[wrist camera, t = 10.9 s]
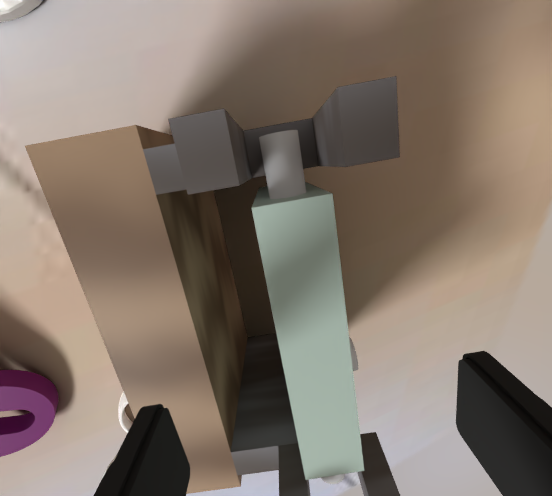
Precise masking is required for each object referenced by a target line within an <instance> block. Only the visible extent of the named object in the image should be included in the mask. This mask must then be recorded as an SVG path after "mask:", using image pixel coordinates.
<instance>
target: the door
mask: <svg viewBox="0 0 552 496" xmlns="http://www.w3.org/2000/svg"><path fill="white" fill-rule="evenodd" d="M259 141H260V146H261V152H262V158H263V163H264V169H265V174H266V180H267V186H266V187H260V188H259V189H258V192H257V195H256V197H255V200H254V203H253V205H252V213H253V218H254V223H255V228H256V233H257V238H258V243H259V248H260V253H261V258H262V263H263V269H264V274H265V279H266V284H267V289H268V294H269V299H270V304H271V309H272V314H273V319H274V324H275V329H276V334H277V339H278V344H279V349H280V354H281V359H282V364H283V369H284V374H285V379H286V384H287V389H288V394H289V399H290V404H291V409H292V414H293V419H294V424H295V429H296V434H297V439H298V444H299V449H300V454H301V459H302V464H303V469H304V474H305V479H306V480H309V479H315V478H321V479H322V480H323V481H324V482H326V483H328V484H332V485H334V484H338V483H340V482H341V481H342V480H343V479H344V477H345V474H347V473H353V472H359V471H364V464H363V455H362V446H361V438H360V429H359V420H358V411H357V403H356V394H355V385H354V377H353V371H355V370H358V361H357V355H356V351H355V348H354V345H353V342H352V340H351V338H350V337H349V333H348V324H347V315H346V307H345V298H344V289H343V281H342V272H341V263H340V254H339V246H338V237H337V228H336V219H335V211H334V202H333V193H330V192H328V191H325V190H323V189H321V188H318V187H316V186H314V185H311V184H309V183H306V182H305V179H304V172H303V165H302V158H301V151H300V143H299V136H298V130H288V131H281V132H276V133H271V134H267V135H264V136H261V137H259Z"/></svg>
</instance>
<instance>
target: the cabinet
mask: <svg viewBox="0 0 552 496" xmlns="http://www.w3.org/2000/svg"><path fill="white" fill-rule="evenodd" d="M168 120H169V124H170V128H171V131H172V135H173V136H172V135H168V134H165V133H161V132H158V131H154V130H151V129H148V128H144V127H141V126H137V125H133V126H128V127H123V128H118V129H112V130H107V131H102V132H96V133H91V134H86V135H80V136H75V137H70V138H64V139H59V140H54V141H48V142H43V143H38V144H32V145H27V146H25V147H26V150H27V152H28V155H29V157H30V160H31V162H32V165H33V167H34V170H35V172H36V175H37V177H38V180H39V182H40V185H41V187H42V190H43V192H44V195H45V197H46V200H47V202H48V205H49V207H50V209H51V212H52V214H53V217H54V219H55V222H56V224H57V227H58V229H59V232H60V234H61V237H62V239H63V242H64V244H65V247H66V249H67V252H68V254H69V257H70V259H71V262H72V264H73V267H74V269H75V272H76V274H77V277H78V279H79V282H80V284H81V287H82V289H83V292H84V294H85V296H86V299H87V301H88V304H89V306H90V309H91V311H92V314H93V316H94V319H95V321H96V324H97V326H98V329H99V331H100V334H101V336H102V339H103V341H104V344H105V346H106V349H107V351H108V354H109V356H110V359H111V361H112V364H113V366H114V369H115V371H116V374H117V376H118V379H119V381H120V383H121V386H122V388H123V391H124V393H125V396H126V398H127V401H128V403H129V406H130V408H131V411H132V413H133V416H134V418H136V416H137V414H138V412H139V410H140V408H142V407H144V406H150V405H156V404H162V405H163V407H164V408H168V409H169V412H170V414H171V417H172V419H173V422H174V425H175V427H176V430H177V433H178V435H179V438H180V440H181V443H182V446H183V448H184V451H185V454H186V456H187V459H188V462H189V464H190V480H189V484H188V488H187V492H186V494H188V493H196V492H203V491H210V490H218V489H225V488H233V487H240V486H241V477H242V475H244V474H252V473H259V472H266V471H274V470H279V496H310V489H309V480H306V479H305V474H304V469H303V464H302V459H301V454H300V449H299V444H298V439H297V434H296V429H295V424H294V419H293V414H292V409H291V404H290V399H289V394H288V389H287V384H286V379H285V374H284V369H283V364H282V359H281V354H280V349H279V344H278V339H277V334H269V335H263V336H256V337H250V338H248V337H247V333H246V329H245V325H244V320H243V316H242V312H241V307H240V303H239V299H238V294H237V290H236V286H235V281H234V277H233V273H232V268H231V264H230V260H229V255H228V251H227V247H226V242H225V238H224V234H223V229H222V225H221V221H220V216H219V212H218V208H217V203H216V199H215V195H214V190H217V189H223V188H229V187H234V186H240V185H241V184H243V183H245V182H246V181H248V180H249V179H251V178H254V177H259V176H265V175H266V174H265V169H264V163H263V158H262V152H261V146H260V141H259V137H261V136H264V135H267V134H271V133H276V132H281V131H288V130H298V136H299V143H300V151H301V158H302V165H303V169H305V168H310V167H316V166H332V167H348V166H353V165H359V164H365V163H370V162H376V161H382V160H387V159H393V158H398V157H400V153H399V129H398V106H397V83H396V76H395V77H389V78H384V79H379V80H373V81H368V82H363V83H358V84H352V85H347V86H342V87H338V88H337V89H336V90H335V91H334V92H333V94H332V95H331V96H330V97H329V98H328V100H327V101H326V102H325V103H324V104H323V106H322V107H321V108H320V109H319V110H318V112H317V113H316V114H315V115H314V116H313V118H311V119H305V120H300V121H294V122H289V123H283V124H278V125H273V126H267V127H262V128H256V129H251V130H245V131H243V130H242V129H241V128H240V126H239V125H238V124H237V123H236V122H235V121H234V120H233V118H232V117H231V116H230V115H229V114H228V113H227V112H226V110H225V109H219V110H214V111H208V112H203V113H198V114H192V115H187V116H182V117H177V118H171V119H168ZM360 438H361V446H362V455H363V464H364V471H359V472H358V476H359V479H360V483H361V486H362V490H363V494H364V496H400V494H399V492H398V489H397V486H396V484H395V481H394V479H393V476H392V473H391V471H390V468H389V465H388V463H387V460H386V458H385V455H384V452H383V450H382V447H381V445H380V442H379V439H378V437H377V434H376V432H373V433H366V434H360Z"/></svg>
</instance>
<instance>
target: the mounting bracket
mask: <svg viewBox="0 0 552 496" xmlns="http://www.w3.org/2000/svg"><path fill="white" fill-rule="evenodd" d="M57 406H58V392H57V389H56V387H55V385H54V384H53V383H52V382H51V381H50V380H48V379H47V378H45V377H43V376H41V375H39V374H36V373H32V372H28V371H22V370H0V411H9V410H27V411H30V412H31V413H28V414H25V415H19V416H10V417H1V418H0V457H1V456H5V455H8V454H11V453H14V452H17V451H19V450H21V449H24V448H26V447H28V446H29V445H31V444H33V443H34V442H36V441H37V440H39V439H40V438H41V437H42V436H43V435H44V434H45V433H46V432H47V431H48V430H49V428H50V427H51V425H52V423H53V421H54V418H55V414H56V410H57Z"/></svg>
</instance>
